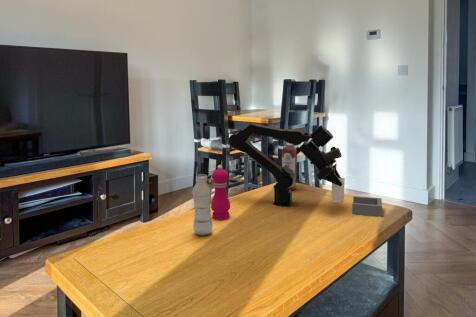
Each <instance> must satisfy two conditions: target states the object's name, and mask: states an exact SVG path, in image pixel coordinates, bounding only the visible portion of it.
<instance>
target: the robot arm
mask: <svg viewBox="0 0 476 317" xmlns="http://www.w3.org/2000/svg"><path fill="white" fill-rule="evenodd" d="M253 135H259V136H263V137H268V138H273V139H279V140H282V141H283V142H286V143H287V142H288V143H290V144H293V146H296V147H295V148H296V154H297V155H299V154H300V153H301V154H303V155H304V156H305V157H306V159H307V160H309V163H310V165H314V167H315V168H316V169H317V170H316V171H317V173H316V178H318V180H319V181H322V180H325V181H327V182H329V183H331V184H332V183H334V184H336V185H338V186H342V183H341V181H340V180H339V179H338V178H342V177H341V175H340V173H339V172H338V170H337V159H340V158H342V155H343V154H342V153H341V150H340V147H336V146H332V147H330V150H329V151H328V152H324V150H322V151H321V149H319V148H320V147H322V148H324V147H325V146H326V145H327V144H329V142H330V141H331V140H332V139H334V136H333V134H332V133H331V132H330V130H328V129H327V128H325V127H324V126H323V125H319V126H318V127H317V129H316V130H315V131H313V132H312V133H311V132H305V131H304V130H303V129H301V128H299V129H298V128H290V129H289V128H287V129H285V128H278V127H273V126H268V125H263V124H257V123H255V122H253V123H250V124H249V125H247V126H246V127H245V128H244V129H242V130H240V131H239V132H235V133H233V134H231V135H230V136H229V138H228V145H229V146H230V147H232V148H233V149H234V150H237V151H239V152H241V153H245V154H246V155H248V156H249V157H250V158H251V159H253V160H254V161H255V162H257V163H258V164H259V165H260V166H261V167H263V168H264V169H265V170H267V171H268V172H269V173H270V174H272V176H273V178H274V179H275V180H276V183H275V184H274V185H273V190H274V191H273V194H274V195H273V198H274V199H273V200H274V201H273V202H272V205H275V206H284V207H289V206H290V205H291V204H292V203H293V192H292V190H291V189H289V187H290V186H291V185H292V184H293V183H294V182H295V180H297V179H296V178H297V176H296V175H297V174H296V175H295V173H294V172H293V171H294V170H291V169H290V168H289V167H288V166H287V165H285V166H284V167H282V165H279V164H278V163H276V162H275V161H274V160H273V159H271V158H270V157H269V156H267V155H266V154H264V152H263V151H261V150H259V149H258V148H257V147H256V146H254V144H253V143H252V142H251V140H250V138H251V137H252V136H253ZM310 139H311V140H310ZM309 140H310V141H309ZM299 145H300V146H299Z"/></svg>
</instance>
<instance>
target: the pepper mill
mask: <svg viewBox="0 0 476 317" xmlns="http://www.w3.org/2000/svg"><path fill="white" fill-rule="evenodd" d="M211 179H212V180H213V185H212V186H213V187H214V194H213V197H212V198H211V206H210V210H212V211H213V212H211V217H212V218H213V219H214V220H216V219H217V221H225V220H227V219H229V218H230V212H229V210H230V209H231V201H230V200H229V199H230V198H229V196H228V194H227V186H228V182H227V181H228V179H229V173H228V171H227V170H226V169H224V168H223V166H222V164H219V165H218V166H217V169H215V170H213V171H212V174H211Z"/></svg>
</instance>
